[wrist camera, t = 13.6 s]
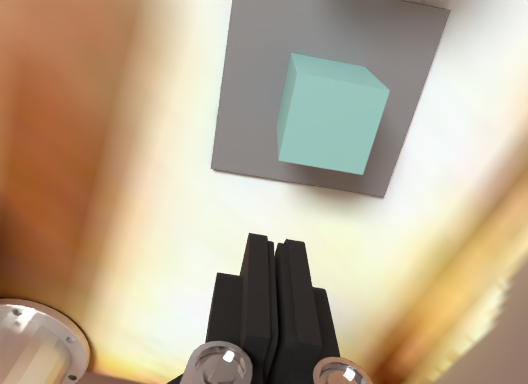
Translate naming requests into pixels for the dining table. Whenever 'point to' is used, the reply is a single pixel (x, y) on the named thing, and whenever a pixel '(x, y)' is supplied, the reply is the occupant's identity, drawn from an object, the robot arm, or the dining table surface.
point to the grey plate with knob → (330, 48)
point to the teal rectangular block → (329, 114)
